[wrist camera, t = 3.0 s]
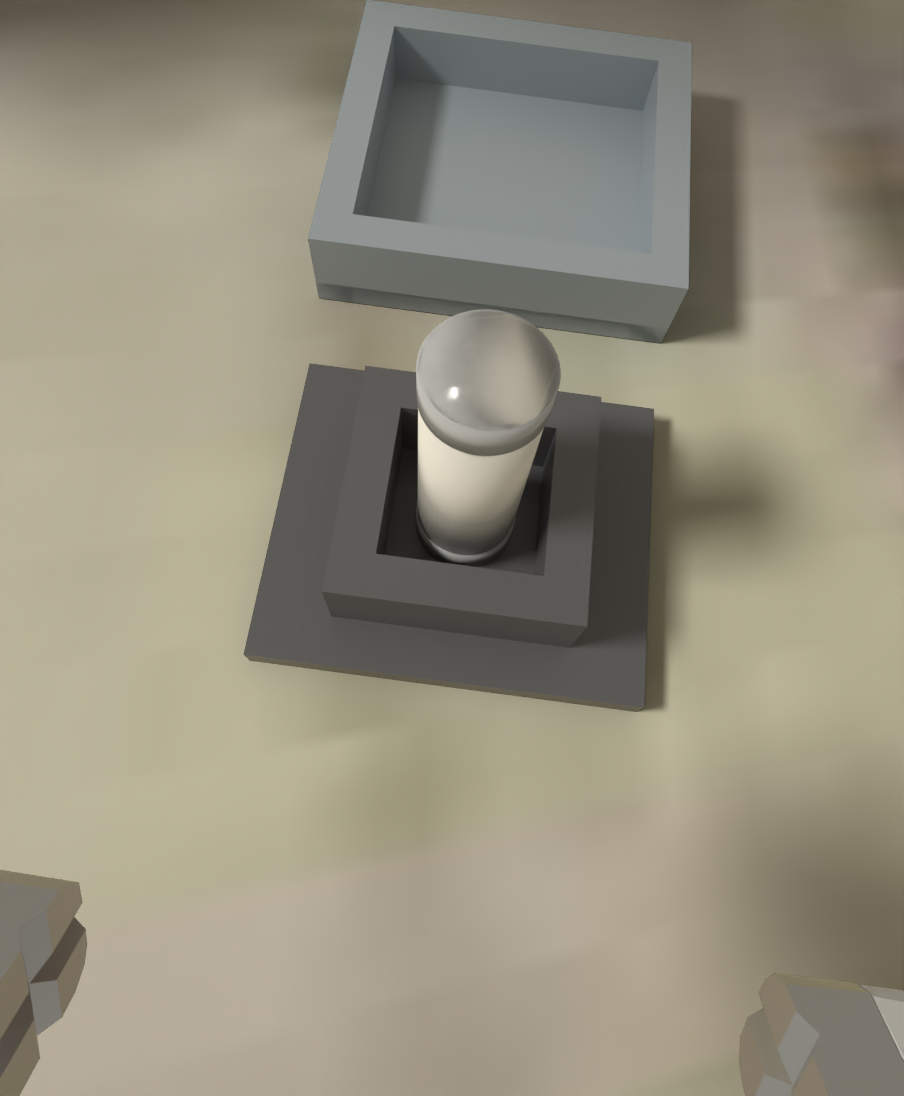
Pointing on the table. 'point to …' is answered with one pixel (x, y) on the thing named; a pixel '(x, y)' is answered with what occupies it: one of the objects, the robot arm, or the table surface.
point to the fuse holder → (449, 589)
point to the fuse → (479, 429)
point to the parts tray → (509, 172)
